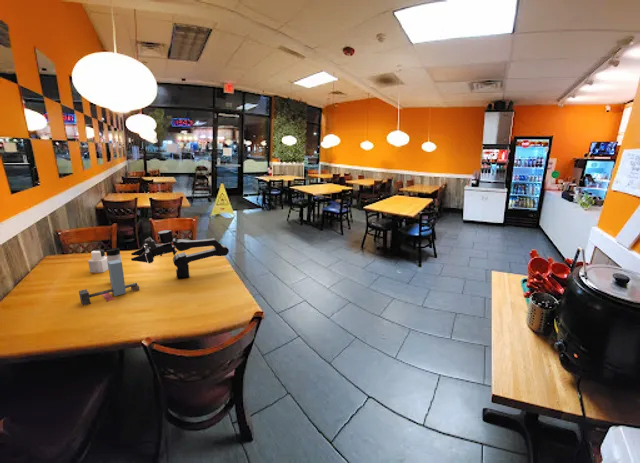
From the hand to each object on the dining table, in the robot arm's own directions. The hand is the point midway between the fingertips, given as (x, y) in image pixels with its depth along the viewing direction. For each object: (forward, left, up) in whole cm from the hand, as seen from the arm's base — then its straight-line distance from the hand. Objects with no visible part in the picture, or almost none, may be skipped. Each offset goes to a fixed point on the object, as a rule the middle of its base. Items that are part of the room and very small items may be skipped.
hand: (131, 256), depth 158 cm
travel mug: (+9, -8, -17) cm, 20 cm away
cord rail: (+9, +11, -17) cm, 22 cm away
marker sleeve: (+6, +10, -17) cm, 20 cm away
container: (+20, -30, -17) cm, 39 cm away
